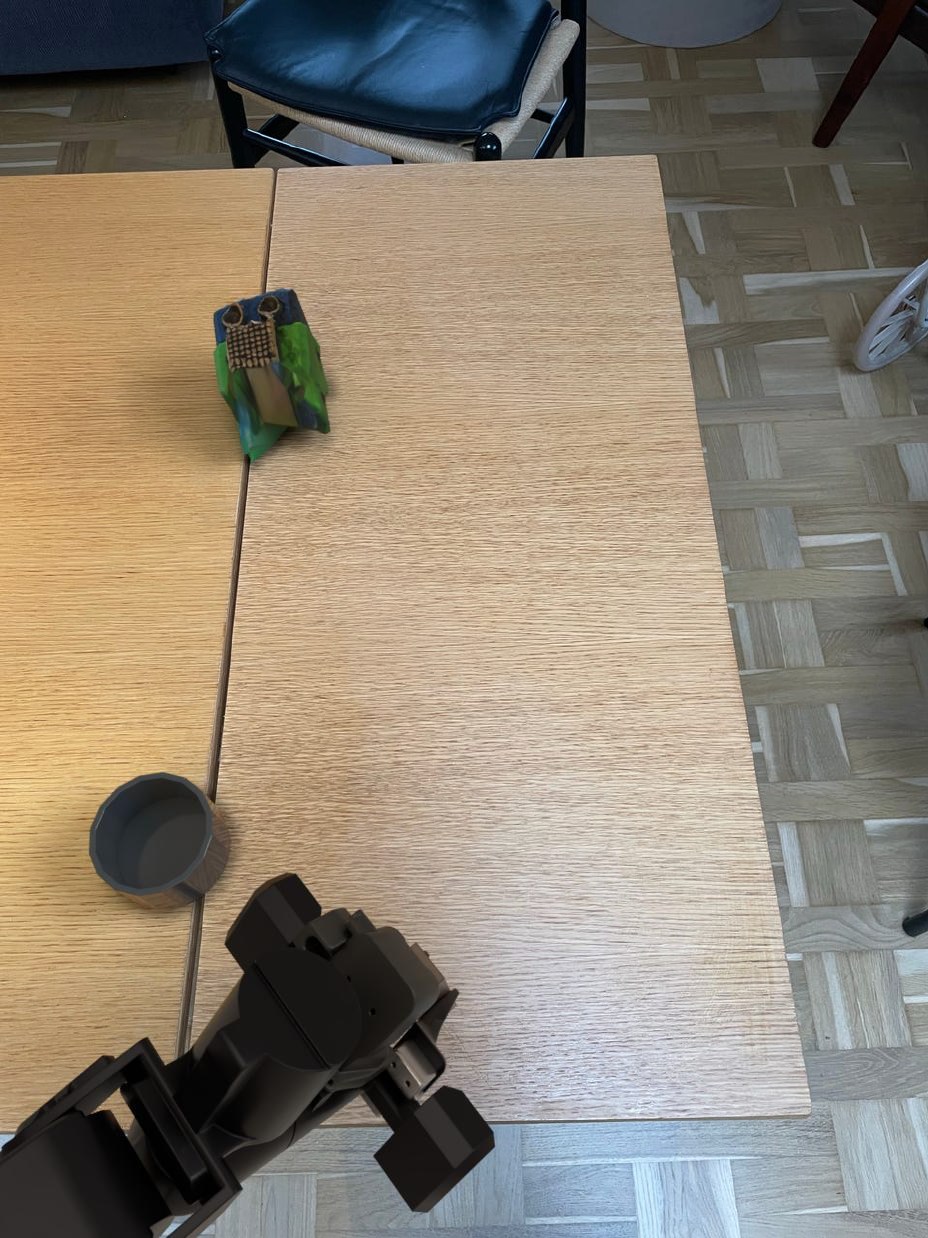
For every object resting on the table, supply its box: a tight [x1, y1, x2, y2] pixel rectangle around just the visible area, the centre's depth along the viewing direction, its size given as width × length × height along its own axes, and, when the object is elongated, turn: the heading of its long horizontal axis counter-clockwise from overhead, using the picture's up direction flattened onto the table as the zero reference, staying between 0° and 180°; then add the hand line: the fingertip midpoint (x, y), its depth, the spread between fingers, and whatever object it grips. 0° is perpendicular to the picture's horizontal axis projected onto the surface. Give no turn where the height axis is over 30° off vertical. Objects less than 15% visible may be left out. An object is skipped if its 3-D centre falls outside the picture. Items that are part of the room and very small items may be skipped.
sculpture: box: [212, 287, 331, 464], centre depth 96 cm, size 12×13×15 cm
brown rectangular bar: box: [410, 942, 458, 1021], centre depth 61 cm, size 3×3×14 cm
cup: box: [88, 771, 231, 910], centre depth 77 cm, size 9×9×6 cm
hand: (439, 976), depth 61 cm, fingers closed on brown rectangular bar, 2 cm apart
